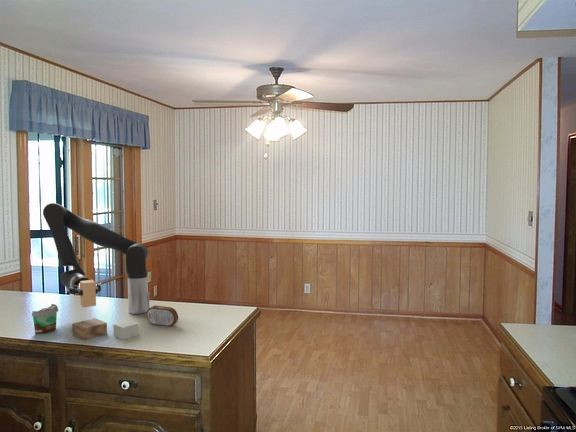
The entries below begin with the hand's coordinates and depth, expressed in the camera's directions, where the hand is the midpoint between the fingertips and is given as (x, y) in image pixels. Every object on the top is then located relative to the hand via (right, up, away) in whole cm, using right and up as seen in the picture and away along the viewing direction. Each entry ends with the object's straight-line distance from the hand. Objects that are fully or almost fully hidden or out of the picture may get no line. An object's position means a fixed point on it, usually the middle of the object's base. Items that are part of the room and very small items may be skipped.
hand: (89, 292), depth 187 cm
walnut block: (-1, -19, +4) cm, 19 cm away
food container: (-21, -18, +8) cm, 29 cm away
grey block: (+14, -19, +3) cm, 23 cm away
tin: (+26, -18, +16) cm, 35 cm away
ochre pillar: (-2, -6, +3) cm, 7 cm away
